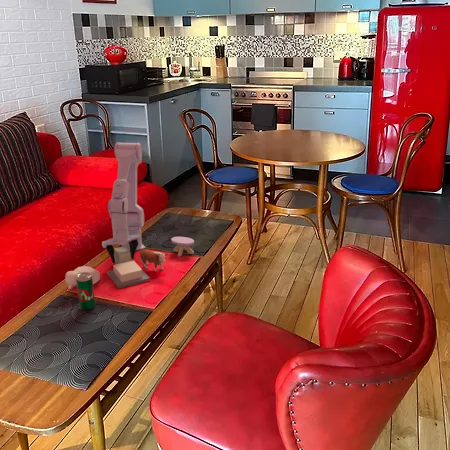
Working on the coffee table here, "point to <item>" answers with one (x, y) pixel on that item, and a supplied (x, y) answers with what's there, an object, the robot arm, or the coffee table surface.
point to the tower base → (118, 283)
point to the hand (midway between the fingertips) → (122, 260)
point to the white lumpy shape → (72, 275)
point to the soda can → (85, 291)
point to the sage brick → (122, 255)
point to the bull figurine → (152, 258)
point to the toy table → (182, 245)
